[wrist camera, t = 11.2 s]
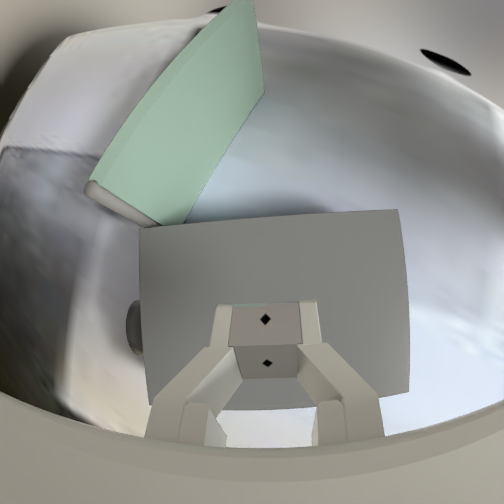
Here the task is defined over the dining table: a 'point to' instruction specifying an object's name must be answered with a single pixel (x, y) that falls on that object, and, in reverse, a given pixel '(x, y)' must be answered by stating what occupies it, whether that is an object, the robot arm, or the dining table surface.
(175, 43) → the dining table surface
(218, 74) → the side door
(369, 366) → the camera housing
